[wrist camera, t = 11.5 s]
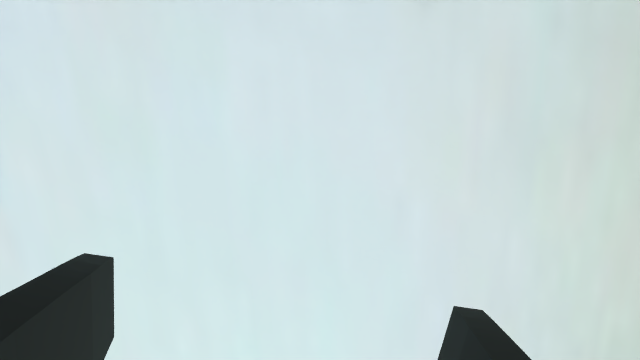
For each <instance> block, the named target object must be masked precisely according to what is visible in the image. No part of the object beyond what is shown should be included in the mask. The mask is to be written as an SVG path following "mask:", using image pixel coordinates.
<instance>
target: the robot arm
mask: <svg viewBox="0 0 640 360" xmlns="http://www.w3.org/2000/svg"><path fill="white" fill-rule="evenodd" d="M113 338H114V259H113V257H106V256H99V255H92V254H85V253H84V254H82V255H80V256H77V257H75V258H73V259H71V260H69V261H67V262H65V263H63V264H61V265H59V266H58V267H56V268H54V269H52V270H50V271H48V272H46V273H44V274H42V275H41V276H39V277H37V278H35V279H33V280H31V281H29V282H27V283H25V284H23V285H22V286H20V287H18V288H16V289H14V290H12V291H10V292H8V293H6V294H4V295H2V296H0V360H104V358H105V356H106V354H107V351H108V349H109V347H110V345H111V342H112V340H113ZM438 360H531V359H530V358H529V357H528V356H527V355H526V354H525V353H524V352H523V351H522V350H521V348H520V347H519V346H518V345H517V344H516V343H515V342H514V341H513V340H512V339H511V338H510V337H509V336H508V335H507V334H506V333H505V332H504V331H503V330H502V329H501V328H500V327H499V326H498V325H497V324H496V323H495V322H494V321H493V320H492V319H491V318H490V317H489V316H488V315H487V314H486V313H485V312H484V311H483V310H478V309H471V308H464V307H457V306H454V307H453V311H452V314H451V317H450V321H449V324H448V327H447V330H446V334H445V337H444V340H443V344H442V347H441V350H440V354H439V357H438Z"/></svg>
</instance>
